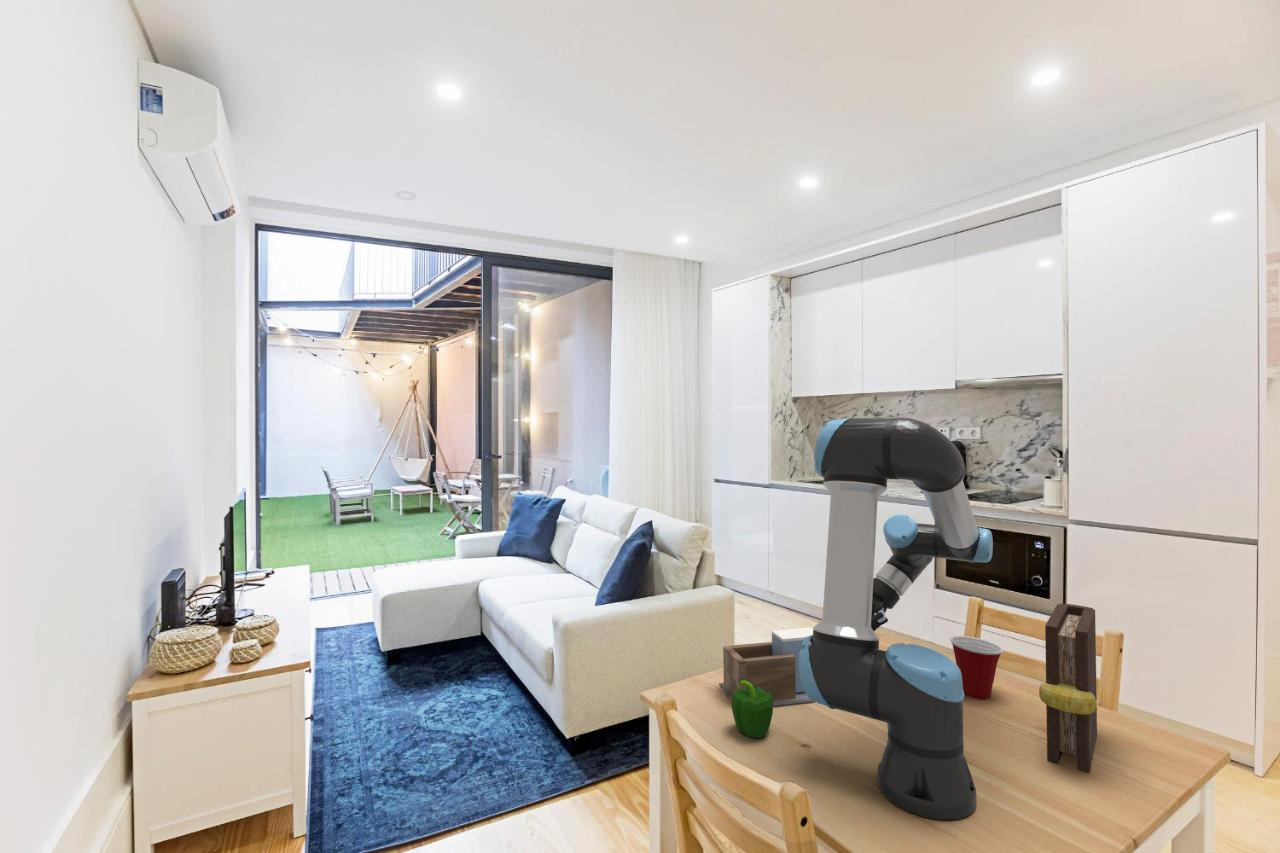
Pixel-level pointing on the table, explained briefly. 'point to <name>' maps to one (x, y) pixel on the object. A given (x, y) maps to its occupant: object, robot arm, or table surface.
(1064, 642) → the book
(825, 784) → the table surface
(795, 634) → the white box
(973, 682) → the plastic cup
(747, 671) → the housing
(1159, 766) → the table surface
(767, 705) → the bell pepper
